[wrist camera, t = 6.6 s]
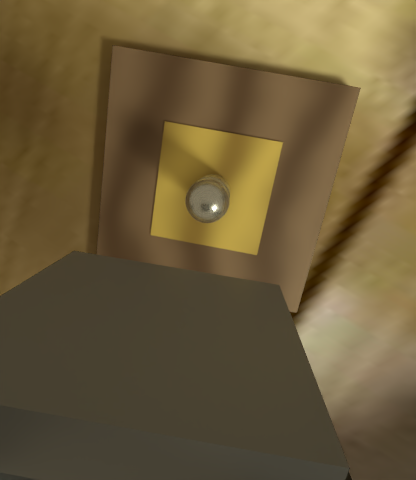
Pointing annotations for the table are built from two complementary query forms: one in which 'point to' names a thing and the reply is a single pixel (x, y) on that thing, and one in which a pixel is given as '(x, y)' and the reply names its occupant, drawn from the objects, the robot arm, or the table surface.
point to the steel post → (208, 198)
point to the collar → (156, 378)
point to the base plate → (219, 165)
